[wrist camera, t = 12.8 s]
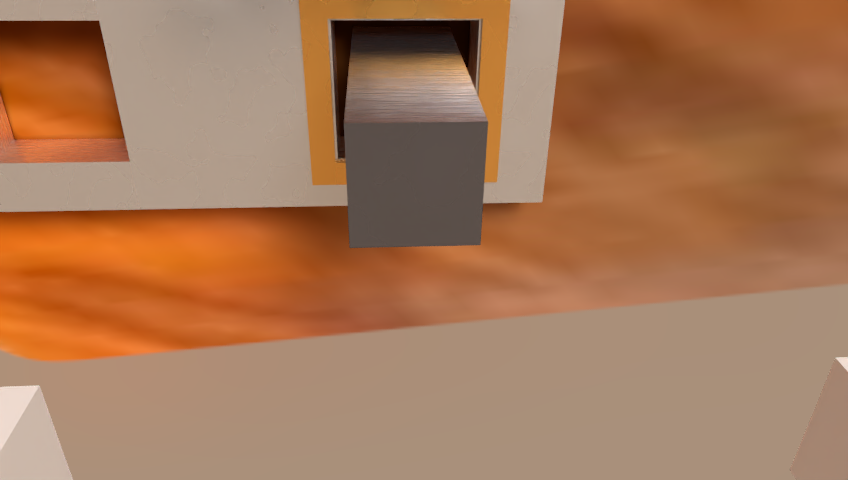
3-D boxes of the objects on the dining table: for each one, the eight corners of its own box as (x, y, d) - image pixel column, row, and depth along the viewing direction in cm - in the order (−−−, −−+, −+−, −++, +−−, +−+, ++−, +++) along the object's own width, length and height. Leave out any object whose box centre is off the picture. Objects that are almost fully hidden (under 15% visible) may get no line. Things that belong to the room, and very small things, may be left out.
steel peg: (352, 26, 28) (343, 123, 19) (449, 26, 29) (488, 121, 19) (356, 119, 30) (349, 247, 21) (446, 118, 31) (480, 245, 21)
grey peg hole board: (-135, -55, 26) (-185, -45, 23) (554, -52, 27) (570, -41, 25) (-46, 187, 31) (-80, 215, 28) (530, 177, 32) (543, 204, 30)
